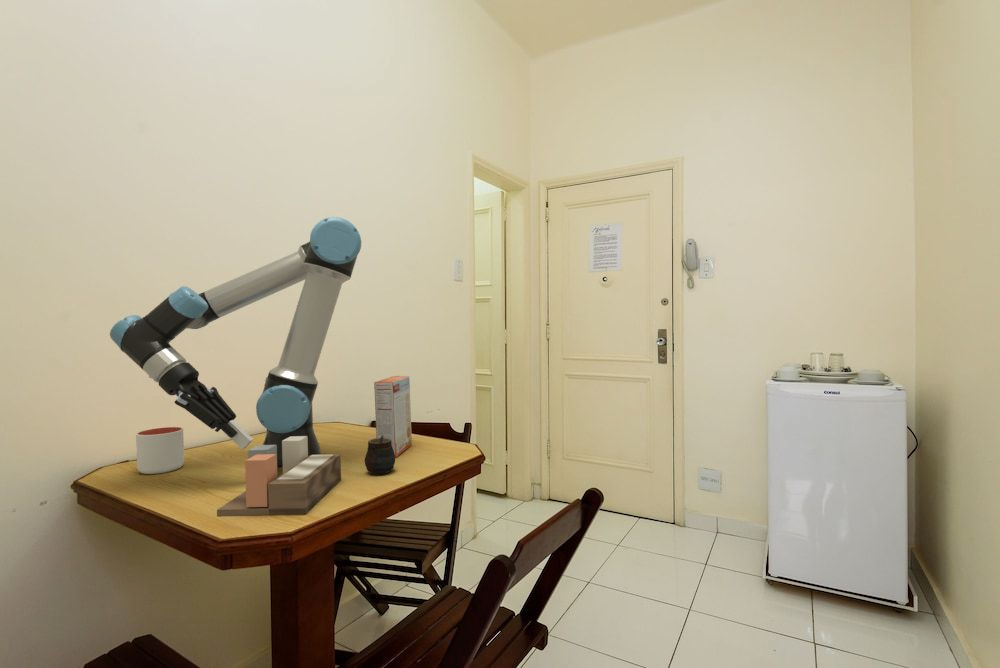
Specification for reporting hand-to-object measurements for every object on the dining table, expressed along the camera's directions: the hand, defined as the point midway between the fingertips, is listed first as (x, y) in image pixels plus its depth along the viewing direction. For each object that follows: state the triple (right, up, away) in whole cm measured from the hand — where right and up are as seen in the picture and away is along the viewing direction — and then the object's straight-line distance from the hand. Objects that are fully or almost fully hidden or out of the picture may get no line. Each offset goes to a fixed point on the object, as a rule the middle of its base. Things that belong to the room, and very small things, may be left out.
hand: (247, 444), depth 114 cm
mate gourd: (+28, -9, +8) cm, 31 cm away
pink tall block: (+11, -8, -16) cm, 21 cm away
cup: (-30, -10, +14) cm, 34 cm away
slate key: (+7, -8, -8) cm, 13 cm away
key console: (+12, -9, -8) cm, 17 cm away
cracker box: (+28, -8, +28) cm, 40 cm away
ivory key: (+11, -8, 0) cm, 13 cm away
